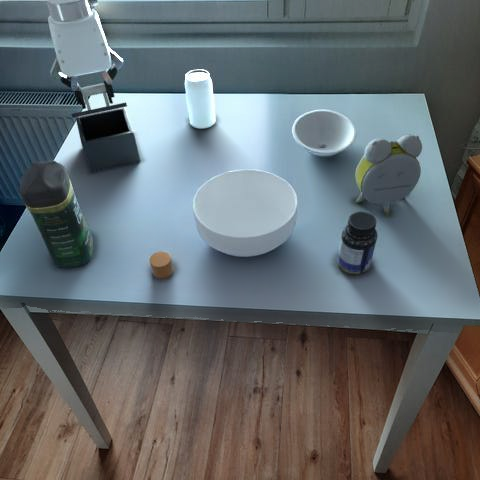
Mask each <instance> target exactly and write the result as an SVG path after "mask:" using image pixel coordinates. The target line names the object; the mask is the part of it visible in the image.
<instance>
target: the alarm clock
mask: <svg viewBox="0 0 480 480" xmlns="http://www.w3.org/2000/svg"><path fill="white" fill-rule="evenodd" d="M422 150H423V144H422V141H421V139H420V136H419V135H415V134H405V135H403V136H401V137H400V138H399V139H398V140H397V141H395V140H394V141H388V140H386V139H384V138H374V139H372V140H371V141H370V142H369V143H367V145H366V147H365V149H364V155H363V156H362V157H361V159H360V160H359V161H358V163H357V166H356V168H355V176H354V177H355V182H356V184H357V186H358V188H359V191H360V194H359V196H358V197H357V198H356V200H355V203H356V204H360V203H361V202H363V201H365V200H366V202H368V203H370V204H373V205H377V206H382V207H383V208H382V209H383V212H384V215H385V216H389V215H390V209H391V205H392V204H394V203H397V202H399V201H401V200H403V199H404V198H406V197H407V196H408V195H409V194H410V193H412V192H413V190H414V189H415V188H416V186H417V185H418V183H419V180H420V179H421V174H422V170H421V169H422V168H421V164H420V161H419V160H418V158H419V156H421V153H422Z"/></svg>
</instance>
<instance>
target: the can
mask: <svg viewBox="0 0 480 480" xmlns="http://www.w3.org/2000/svg"><path fill="white" fill-rule="evenodd" d="M184 88H185V90H184V91H185V95H186V105H187V111H188V119H189V123H190V126H191V127H193V128H194V129H208V128H211V127H212V126H214V124H215V123H216V113H215V102H214V101H215V100H214V89H213V81H212V78H211V77H210V73H209V71H208V70H205V69H193V70H189V71H188V72H187V73H186V74H185V80H184Z"/></svg>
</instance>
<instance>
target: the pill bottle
mask: <svg viewBox="0 0 480 480" xmlns="http://www.w3.org/2000/svg"><path fill="white" fill-rule="evenodd" d="M376 227H377V218H376V217H375V215H374V214H373V213H371V212H368V211H365V210H364V211H363V210H359V211H354V212H352V213H351V214H350V215H349V216H348V219H347V224H346V225H345V226H344V227H343V228H342V231H341V235H340V242H339V247H338V253H337V260H336V265H337V267H338V269H339V270H340V271H341V272H343V273H344V274H346V275H350V276H361V275H363V274H365V273H366V272H367V273H368V271H369V269H370V267H371V265H372V260H373V256H374V253H375V248H376V244H377V241H378V230H377V229H376Z"/></svg>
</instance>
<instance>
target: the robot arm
mask: <svg viewBox="0 0 480 480" xmlns="http://www.w3.org/2000/svg"><path fill="white" fill-rule="evenodd" d="M45 1H46V4H47V5H46V6H47V8H48V11H49V14H50V15H49V16H48V17H47V21H48V22H47V23H48V28H49V32H50V37H51V41H52V45H53V49H54V52H55V54H56V55H55V58H54V60H53V64H52V66H51V68H50V71H49V74H50V77H51V78H52V79H53V80H56V81H57V82H61V83H62V85H63V84H64V85H65V86H66V87H68V88H70V89H71V90H72V92H74V96H75V99H76V102H77V104H78V105H81V107H82V110H86V109H87V106H86V102H85V99H84V97H83V95H82V92H81V89H80V88H81V84H79V83H78V76H84V75H89V74H95V73H100V74H101V76H102V77H103V83H104V84H105V88H106V94H107V98H108V101H109V104H110V105H114V102H113V99H114V98H115V92H114V89H113V81H114V79H115V77H116V76H117V74H118V73H119V71H120V70H121V68H122V67H123V65H124V60H123V58H122V57H120V56H119V55H118V54H117V53H116V52H115V51H113V50H112V49H111V48H110V47H109V46H108V42H107V38H106V35H105V32H104V29H103V25H102V23H101V19H100V18H99V14H98V13H97V11H96V10H95V9H94V7H95V6H99V2H98V0H45ZM112 63H113V64H112ZM60 70H61V72H60Z"/></svg>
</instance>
